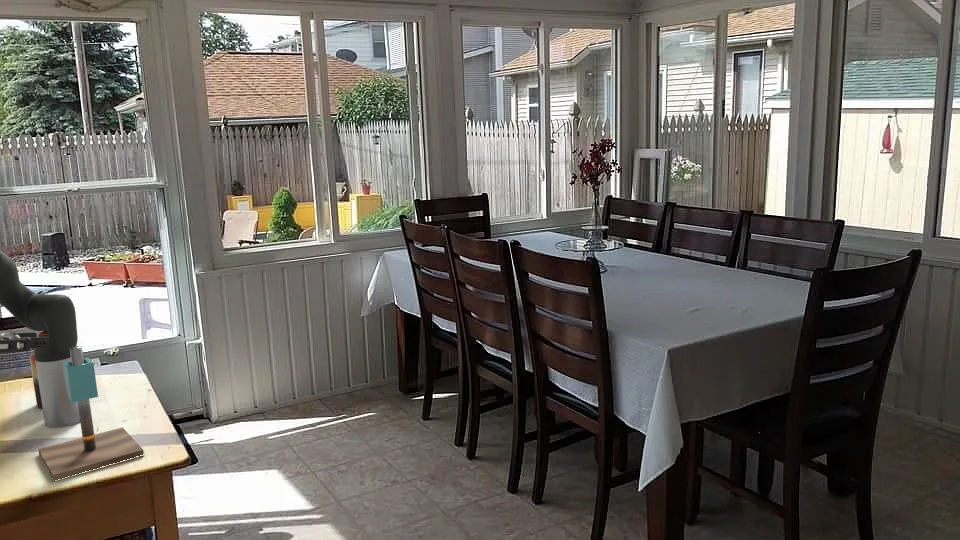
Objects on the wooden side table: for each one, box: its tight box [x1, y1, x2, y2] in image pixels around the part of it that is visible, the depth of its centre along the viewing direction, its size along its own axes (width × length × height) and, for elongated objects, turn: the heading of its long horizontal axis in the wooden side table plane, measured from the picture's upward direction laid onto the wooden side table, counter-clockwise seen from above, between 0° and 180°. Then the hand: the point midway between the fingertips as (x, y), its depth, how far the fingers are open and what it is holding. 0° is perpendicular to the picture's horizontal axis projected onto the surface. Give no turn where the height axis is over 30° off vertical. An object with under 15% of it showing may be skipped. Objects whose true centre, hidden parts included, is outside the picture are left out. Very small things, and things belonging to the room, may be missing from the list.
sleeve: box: [63, 357, 99, 403], centre depth 164 cm, size 5×5×8 cm
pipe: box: [70, 345, 96, 452], centre depth 165 cm, size 3×3×24 cm
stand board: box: [38, 427, 145, 482], centre depth 167 cm, size 18×18×2 cm
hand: (43, 339), depth 158 cm, fingers open, 8 cm apart
